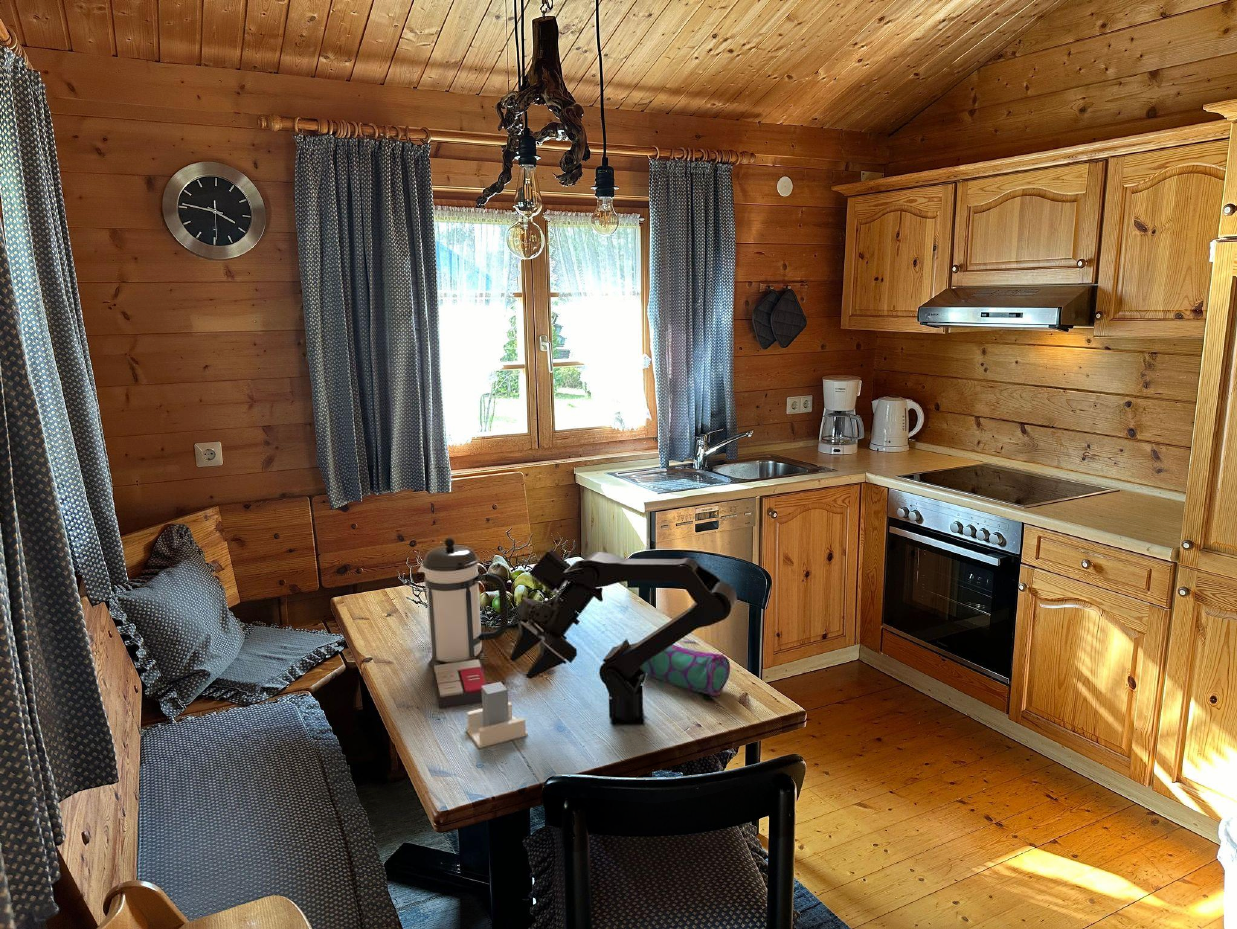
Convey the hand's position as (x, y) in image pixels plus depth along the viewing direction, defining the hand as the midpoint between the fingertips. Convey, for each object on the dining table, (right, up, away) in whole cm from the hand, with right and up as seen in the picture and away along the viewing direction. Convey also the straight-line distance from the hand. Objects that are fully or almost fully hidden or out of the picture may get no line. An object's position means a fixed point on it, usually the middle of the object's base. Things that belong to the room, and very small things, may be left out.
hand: (519, 668), depth 173 cm
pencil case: (+34, -8, +20) cm, 40 cm away
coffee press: (-18, -6, +36) cm, 40 cm away
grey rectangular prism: (-5, -12, 0) cm, 13 cm away
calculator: (-15, -10, +19) cm, 26 cm away
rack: (-5, -13, 0) cm, 14 cm away
